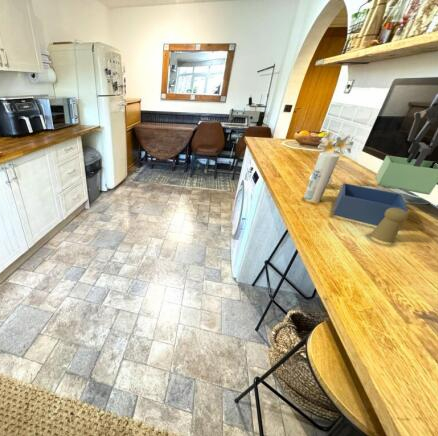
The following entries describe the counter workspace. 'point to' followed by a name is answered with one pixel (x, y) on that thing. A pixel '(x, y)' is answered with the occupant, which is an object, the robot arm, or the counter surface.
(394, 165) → the sage bin
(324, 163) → the spray can
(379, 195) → the slate bin
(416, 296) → the counter surface
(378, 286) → the counter surface
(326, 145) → the flower vase
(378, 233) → the olive pepper mill
